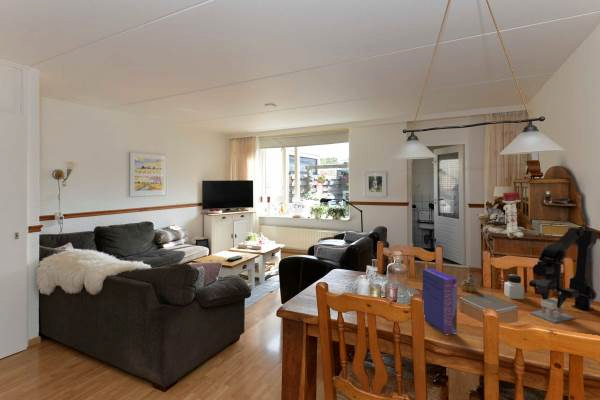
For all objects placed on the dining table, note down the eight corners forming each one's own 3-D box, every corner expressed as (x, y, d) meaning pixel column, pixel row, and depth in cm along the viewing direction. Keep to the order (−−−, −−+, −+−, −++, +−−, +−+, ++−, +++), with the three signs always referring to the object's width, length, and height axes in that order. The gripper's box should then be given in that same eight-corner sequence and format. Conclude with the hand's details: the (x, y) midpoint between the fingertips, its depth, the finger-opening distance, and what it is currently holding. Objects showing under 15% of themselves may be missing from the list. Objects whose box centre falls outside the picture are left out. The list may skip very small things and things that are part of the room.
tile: (549, 309, 157) (549, 308, 157) (574, 318, 147) (574, 317, 147) (529, 313, 153) (529, 312, 153) (554, 323, 143) (554, 321, 143)
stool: (540, 312, 151) (540, 300, 151) (552, 309, 154) (552, 297, 153) (551, 316, 146) (552, 304, 146) (563, 313, 149) (563, 301, 148)
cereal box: (456, 334, 134) (457, 278, 133) (446, 335, 133) (447, 279, 132) (431, 317, 151) (431, 267, 150) (422, 318, 150) (422, 268, 149)
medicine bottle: (524, 299, 171) (524, 277, 170) (509, 298, 172) (510, 277, 171) (518, 294, 178) (518, 273, 177) (504, 294, 179) (504, 273, 178)
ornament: (460, 291, 186) (460, 274, 185) (463, 288, 190) (463, 271, 190) (475, 294, 180) (475, 276, 180) (477, 291, 185) (478, 274, 184)
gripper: (521, 270, 155) (520, 301, 156) (563, 281, 137) (562, 316, 138) (537, 267, 159) (536, 298, 160) (580, 278, 141) (579, 312, 142)
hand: (552, 305), depth 150 cm, fingers open, 5 cm apart
